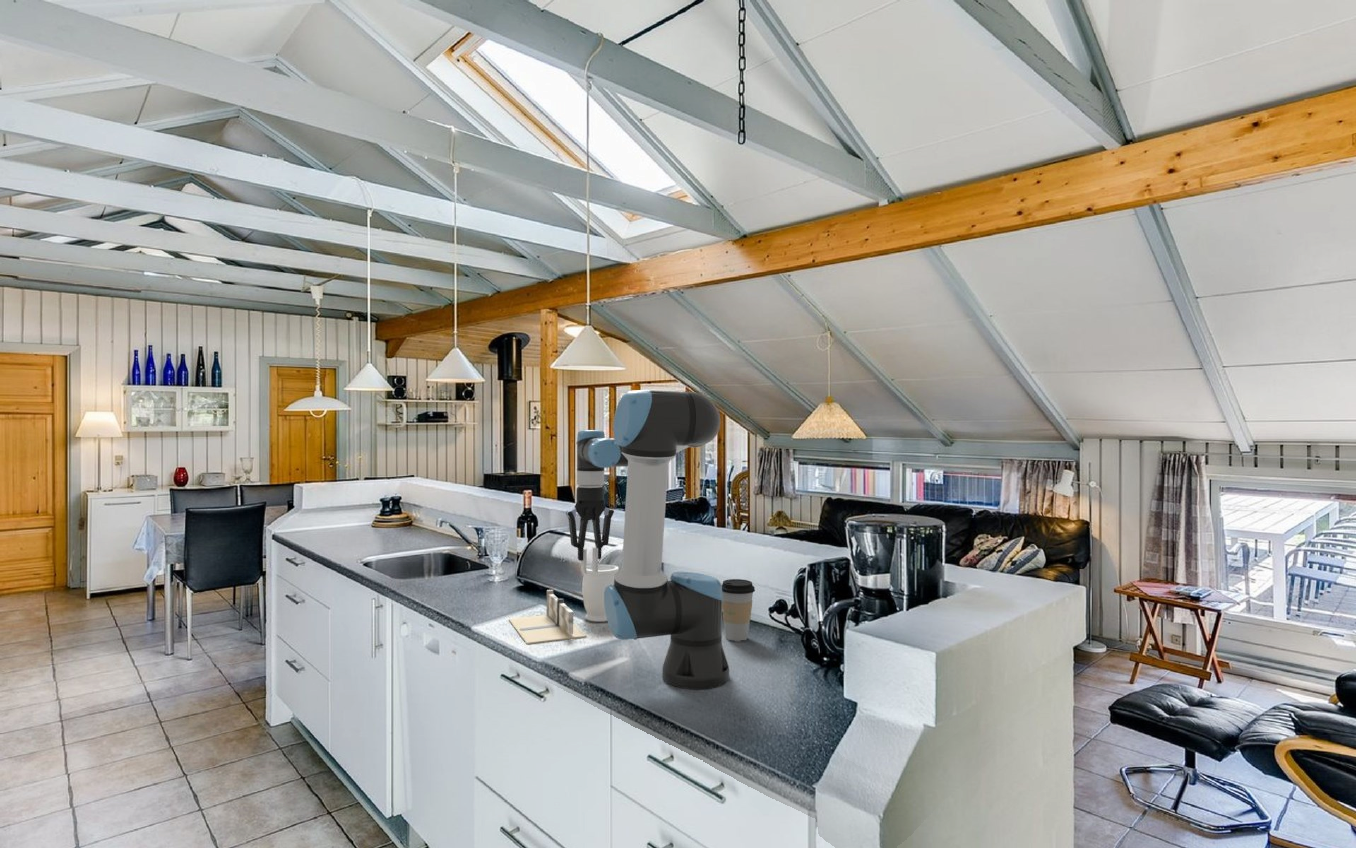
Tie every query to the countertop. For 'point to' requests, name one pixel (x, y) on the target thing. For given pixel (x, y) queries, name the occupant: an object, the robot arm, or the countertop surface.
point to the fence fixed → (552, 606)
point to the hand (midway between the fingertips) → (589, 571)
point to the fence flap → (564, 616)
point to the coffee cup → (737, 608)
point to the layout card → (542, 629)
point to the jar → (597, 590)
